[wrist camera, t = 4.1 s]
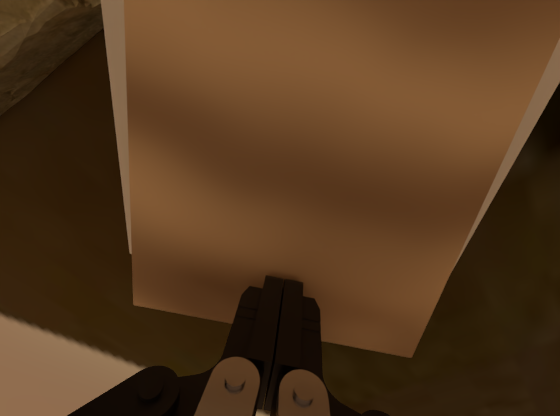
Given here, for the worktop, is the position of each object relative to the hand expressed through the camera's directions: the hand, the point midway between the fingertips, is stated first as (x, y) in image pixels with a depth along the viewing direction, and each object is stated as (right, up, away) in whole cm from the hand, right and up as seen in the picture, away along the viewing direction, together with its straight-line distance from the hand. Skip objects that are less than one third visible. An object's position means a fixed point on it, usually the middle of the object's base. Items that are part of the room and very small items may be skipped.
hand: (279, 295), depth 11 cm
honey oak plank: (+1, +6, -1) cm, 6 cm away
